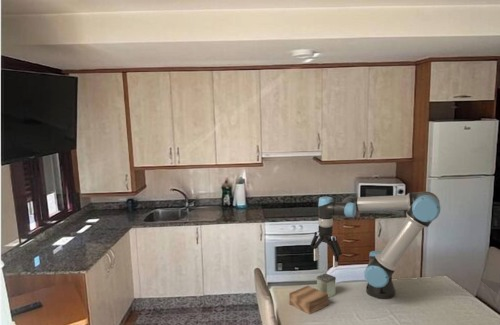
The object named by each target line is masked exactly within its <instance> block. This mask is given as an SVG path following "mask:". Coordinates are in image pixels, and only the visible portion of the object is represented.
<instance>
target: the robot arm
mask: <svg viewBox="0 0 500 325" xmlns="http://www.w3.org/2000/svg"><path fill="white" fill-rule="evenodd" d="M317 208H318V231H315V232H314V233H313V234H314V235H313V238H312V240H311V243H310V247H311V248H312V249H313V251H312V253H313V261H314V262H315V261H318V260H319V246H320V245H321V244H322V243H324V244H327V245H328V246H329V248H330V250H331V251H332V252H331V253H332V254H333V255H332V257H333V258H332V267H333V268H339V267H338V266H339V265H338V262H339V260H340V259H339V256H341V255H343V254H342V253H343V252H342V250H341V247H340V244H339V242H338V236H337V235H335V236H333V230H334V228H333V224H334V222H333V221H334V220H333V219H334V218H333V216H335V217H346V218H354V217H356V214H357V212H365V211H366V212H368V211H370V212H371V211H396V210H397V211H398V210H399V211H402V210H405V211H406V214H405V215H406V218H405V219H404V221H403V222H402V223H401V225H400V226H399V227H398V229H397V230H396V232H395V233H394V234H393V236H392V237H391V239H390V240H389V241H388V243H387V244H386V245H385V247H384V248H383V249H382V250H372V251H370V252H369V254H368V255H369V256H368V257H369V262H368V264H367V266H366V268H365V270H364V278H365V281H366V282H367V284H366V287H365V289H366V290H365V291H366V294H367V295H368V296H369V297H370V296H371V297H373V298H376V299H382V300H388V299H389V300H390V299H392V298H394V297H396V289H395V286H394V282H393V274H394V273H395V271H396V270H397V266H396V264H397V263H398V261H400V259H401V258H402V257H403V255H404V254H405V253H406V251H407V250H408V249H409V247H410V246H411V244H412V243H413V242H414V240H415V239H416V238H417V237H418V235H419V234H420V233H421V231H422V230H423V228H424V229H425V228H428V227H430V225H431V224H432V222H433V221H435V220H436V219H437V218H438V217H439V216H440V214H441V204H440V200H439V198H438V196H437V195H436V194H435V193H433V192H430V191H417V192H415V191H414V192H408V193H407V194H400V195H399V194H398V195H397V194H396V195H378V196H355V197H353V196H347V197H345V198H344V199H343V200H342V201H334V199H333V197H331V196H321V197H319V198H318V205H317Z"/></svg>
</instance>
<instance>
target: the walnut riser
mask: <svg viewBox="0 0 500 325" xmlns="http://www.w3.org/2000/svg"><path fill="white" fill-rule="evenodd" d="M289 305H291V306H293V307H294V308H296V309H298V310H300V311H302V312H303V313H306V314H308V315H310V314H313V313H315V312H317V311H320V310H321V309H323V308H326V307H328V306H329V298H328V294H326V293H324V292H322V291H319V290H317V288H315V287H312V286H309V285H306V286H303V287H300V288H299V289H296V290H293V291H292V292H289Z"/></svg>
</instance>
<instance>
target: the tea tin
mask: <svg viewBox="0 0 500 325" xmlns="http://www.w3.org/2000/svg"><path fill="white" fill-rule="evenodd" d="M336 278H337V277H336V276H334V275H331V274H328V273H323V274H320V275H318V276H316V289H317V290H319V291H322V292H324V293H326V294H328V299H329V298H331V297H334V296H336Z"/></svg>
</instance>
